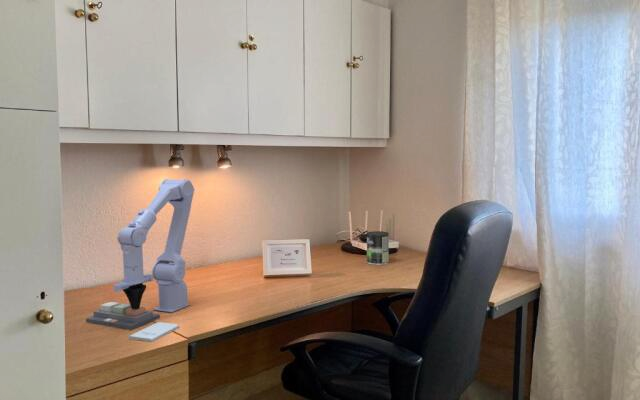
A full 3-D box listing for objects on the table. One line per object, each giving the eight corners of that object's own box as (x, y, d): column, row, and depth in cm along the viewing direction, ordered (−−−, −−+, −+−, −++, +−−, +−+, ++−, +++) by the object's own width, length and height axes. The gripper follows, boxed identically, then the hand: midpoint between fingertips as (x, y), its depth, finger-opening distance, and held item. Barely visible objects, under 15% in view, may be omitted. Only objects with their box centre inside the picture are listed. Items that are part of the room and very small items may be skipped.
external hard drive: (179, 329, 156) (151, 344, 144) (157, 327, 159) (128, 340, 147) (179, 324, 156) (151, 338, 144) (157, 321, 159) (128, 335, 147)
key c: (135, 312, 164) (135, 305, 164) (145, 313, 163) (145, 307, 162) (126, 315, 161) (125, 309, 161) (136, 317, 159) (135, 310, 159)
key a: (110, 307, 169) (110, 301, 169) (119, 309, 167) (119, 303, 167) (100, 311, 165) (100, 305, 165) (109, 312, 164) (109, 306, 164)
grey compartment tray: (116, 311, 174) (115, 303, 173) (159, 318, 166) (159, 309, 165) (86, 322, 163) (85, 313, 163) (131, 330, 155) (130, 320, 155)
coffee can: (372, 265, 235) (371, 235, 234) (363, 261, 245) (363, 232, 244) (392, 264, 238) (392, 233, 237) (383, 259, 248) (383, 230, 247)
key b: (123, 309, 167) (122, 303, 166) (132, 311, 165) (132, 304, 165) (113, 313, 163) (112, 307, 163) (122, 314, 161) (122, 308, 161)
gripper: (140, 260, 169) (142, 301, 170) (105, 269, 155) (107, 313, 157) (157, 261, 165) (159, 303, 167) (122, 271, 152) (124, 316, 154)
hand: (135, 308), depth 161 cm, fingers closed, pressing on key c
